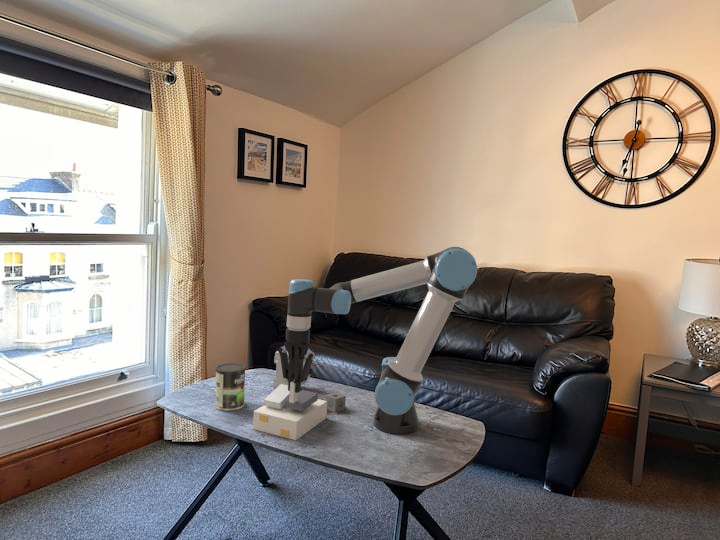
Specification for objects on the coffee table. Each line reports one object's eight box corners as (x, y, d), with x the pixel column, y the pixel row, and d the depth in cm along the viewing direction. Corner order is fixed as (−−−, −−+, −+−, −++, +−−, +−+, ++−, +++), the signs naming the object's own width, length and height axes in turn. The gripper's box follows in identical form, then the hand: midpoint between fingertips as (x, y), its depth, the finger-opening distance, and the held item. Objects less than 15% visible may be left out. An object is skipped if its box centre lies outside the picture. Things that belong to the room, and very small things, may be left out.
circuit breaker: (307, 393, 192) (309, 356, 191) (273, 389, 195) (274, 352, 194) (313, 387, 200) (314, 351, 198) (280, 383, 203) (281, 347, 201)
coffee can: (249, 402, 180) (251, 365, 179) (234, 413, 171) (235, 373, 169) (225, 398, 183) (226, 361, 182) (208, 408, 174) (209, 369, 172)
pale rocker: (296, 393, 168) (295, 387, 167) (280, 409, 159) (279, 403, 159) (281, 390, 170) (280, 383, 170) (264, 405, 162) (264, 399, 161)
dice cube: (325, 408, 179) (326, 395, 178) (335, 405, 182) (336, 392, 182) (335, 412, 175) (335, 399, 175) (345, 409, 179) (345, 396, 178)
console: (326, 417, 170) (327, 397, 169) (295, 440, 152) (296, 418, 151) (286, 408, 177) (287, 389, 176) (252, 429, 158) (253, 407, 157)
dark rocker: (317, 400, 165) (317, 393, 165) (302, 411, 156) (302, 404, 156) (302, 396, 168) (302, 390, 167) (286, 407, 159) (286, 400, 158)
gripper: (322, 329, 156) (317, 402, 157) (287, 323, 161) (282, 394, 163) (310, 333, 149) (305, 409, 151) (274, 327, 154) (269, 400, 156)
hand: (293, 401), depth 157 cm, fingers closed
